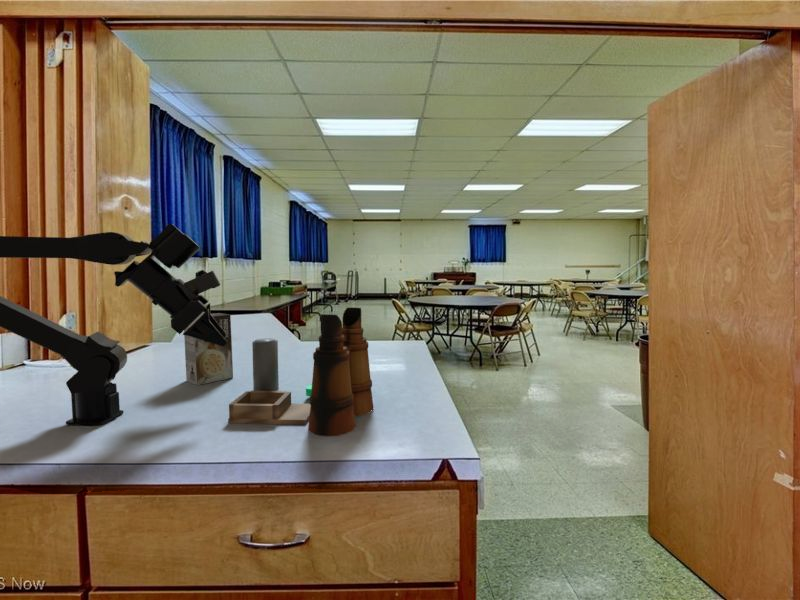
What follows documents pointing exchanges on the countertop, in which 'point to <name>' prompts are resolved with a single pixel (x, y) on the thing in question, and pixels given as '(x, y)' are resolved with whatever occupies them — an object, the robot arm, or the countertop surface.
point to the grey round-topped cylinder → (265, 365)
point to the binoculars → (340, 375)
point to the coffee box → (209, 356)
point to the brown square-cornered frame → (267, 409)
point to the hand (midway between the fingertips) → (225, 340)
